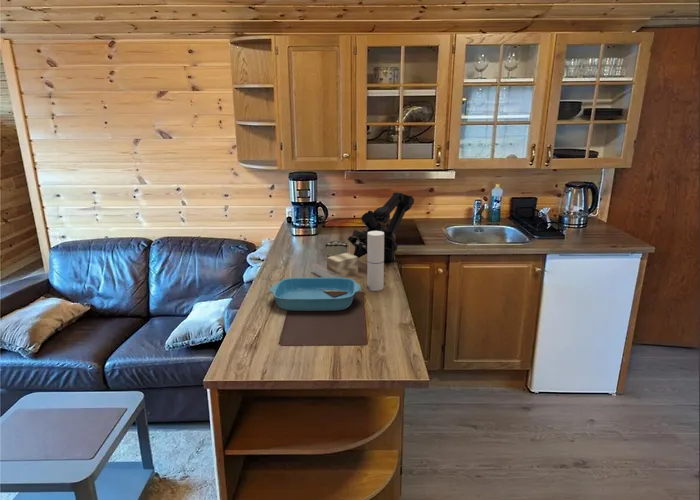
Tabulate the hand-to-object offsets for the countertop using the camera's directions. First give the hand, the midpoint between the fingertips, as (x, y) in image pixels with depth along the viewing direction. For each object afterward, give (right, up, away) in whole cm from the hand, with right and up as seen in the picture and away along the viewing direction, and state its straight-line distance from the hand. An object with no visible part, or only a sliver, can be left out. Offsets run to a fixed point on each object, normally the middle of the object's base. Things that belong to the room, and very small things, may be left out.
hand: (353, 259), depth 221 cm
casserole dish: (-16, -17, -28) cm, 37 cm away
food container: (-8, -1, +20) cm, 22 cm away
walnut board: (-2, -7, +1) cm, 8 cm away
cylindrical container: (+10, -12, -15) cm, 21 cm away
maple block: (-5, -6, -2) cm, 8 cm away
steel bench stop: (-13, -8, -7) cm, 17 cm away
